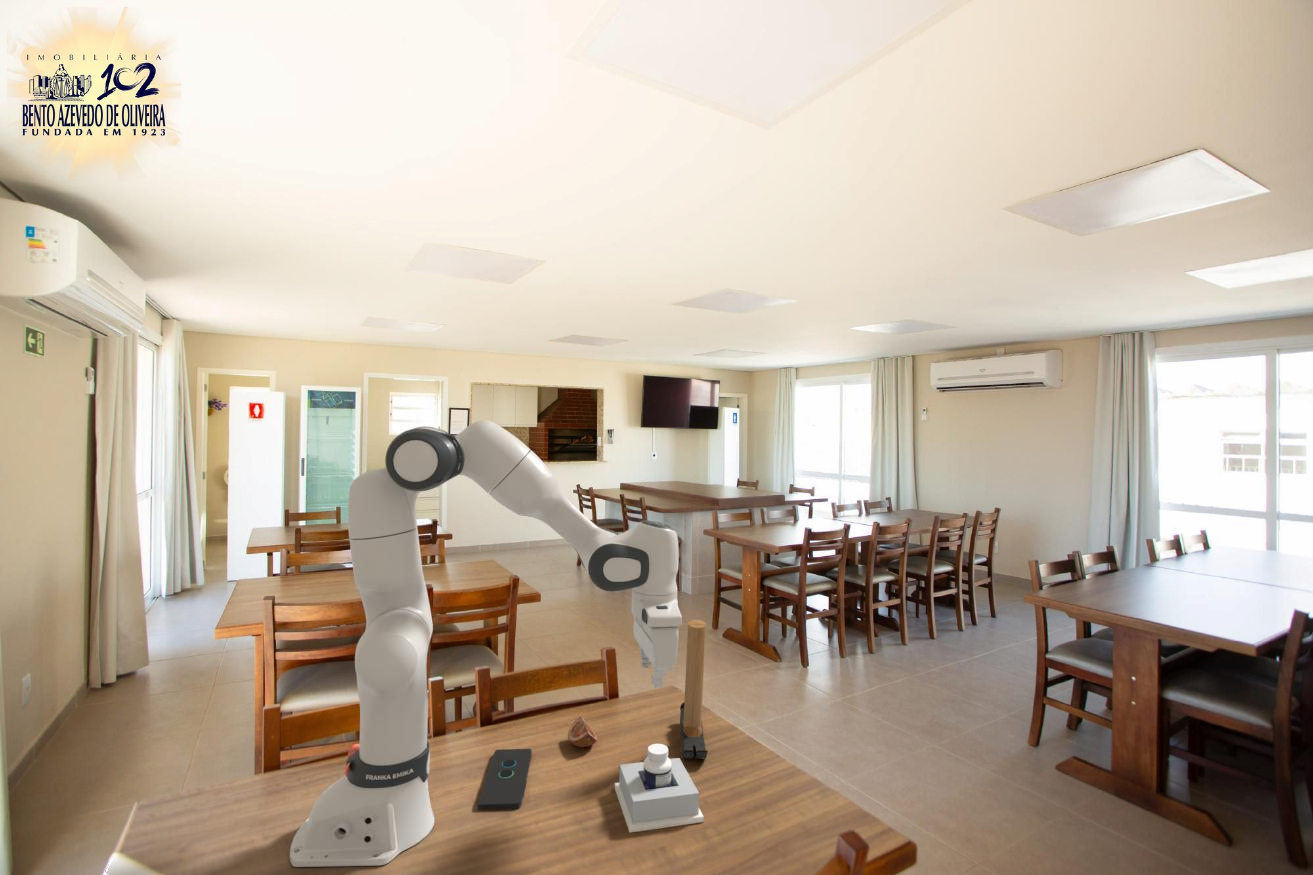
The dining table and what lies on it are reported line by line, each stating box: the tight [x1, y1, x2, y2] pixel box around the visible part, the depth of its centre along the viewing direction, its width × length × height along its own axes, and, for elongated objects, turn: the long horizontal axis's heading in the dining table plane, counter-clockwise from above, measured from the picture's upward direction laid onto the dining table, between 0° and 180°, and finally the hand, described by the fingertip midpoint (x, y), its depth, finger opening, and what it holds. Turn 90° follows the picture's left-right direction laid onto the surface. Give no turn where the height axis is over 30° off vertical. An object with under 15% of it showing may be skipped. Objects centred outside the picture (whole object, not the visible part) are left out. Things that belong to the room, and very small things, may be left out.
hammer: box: [679, 619, 708, 760], centre depth 137 cm, size 20×5×30 cm, turn 1°
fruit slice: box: [567, 716, 598, 748], centre depth 137 cm, size 8×7×5 cm
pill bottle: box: [643, 743, 672, 790], centre depth 116 cm, size 5×5×10 cm
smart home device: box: [477, 748, 533, 811], centre depth 123 cm, size 8×2×20 cm
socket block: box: [614, 757, 705, 834], centre depth 116 cm, size 14×14×5 cm
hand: (651, 676), depth 117 cm, fingers open, 8 cm apart
